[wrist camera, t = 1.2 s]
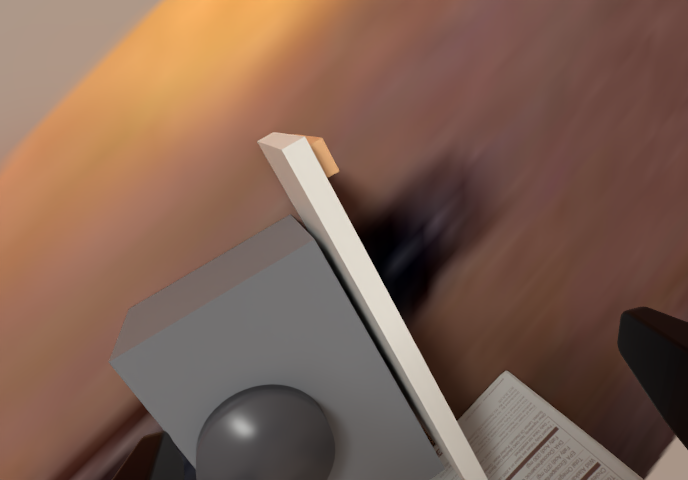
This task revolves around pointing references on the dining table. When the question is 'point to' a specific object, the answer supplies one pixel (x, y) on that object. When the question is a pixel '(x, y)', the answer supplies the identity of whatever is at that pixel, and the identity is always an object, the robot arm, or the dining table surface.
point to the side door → (365, 288)
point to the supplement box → (530, 439)
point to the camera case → (270, 371)
